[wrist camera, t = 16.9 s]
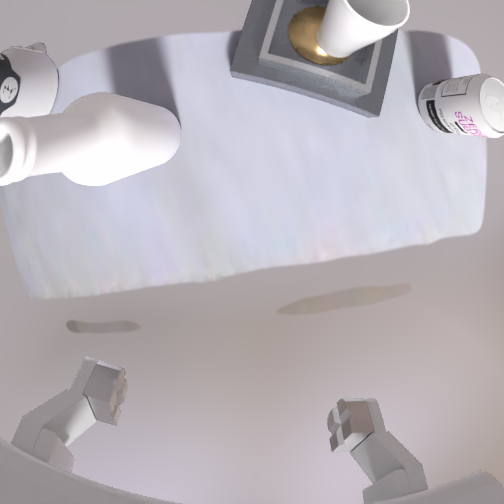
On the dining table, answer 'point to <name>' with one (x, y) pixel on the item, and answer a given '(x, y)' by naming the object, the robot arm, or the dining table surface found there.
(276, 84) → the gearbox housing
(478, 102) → the supplement can
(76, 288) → the dining table surface
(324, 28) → the drinking glass
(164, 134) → the white bottle
